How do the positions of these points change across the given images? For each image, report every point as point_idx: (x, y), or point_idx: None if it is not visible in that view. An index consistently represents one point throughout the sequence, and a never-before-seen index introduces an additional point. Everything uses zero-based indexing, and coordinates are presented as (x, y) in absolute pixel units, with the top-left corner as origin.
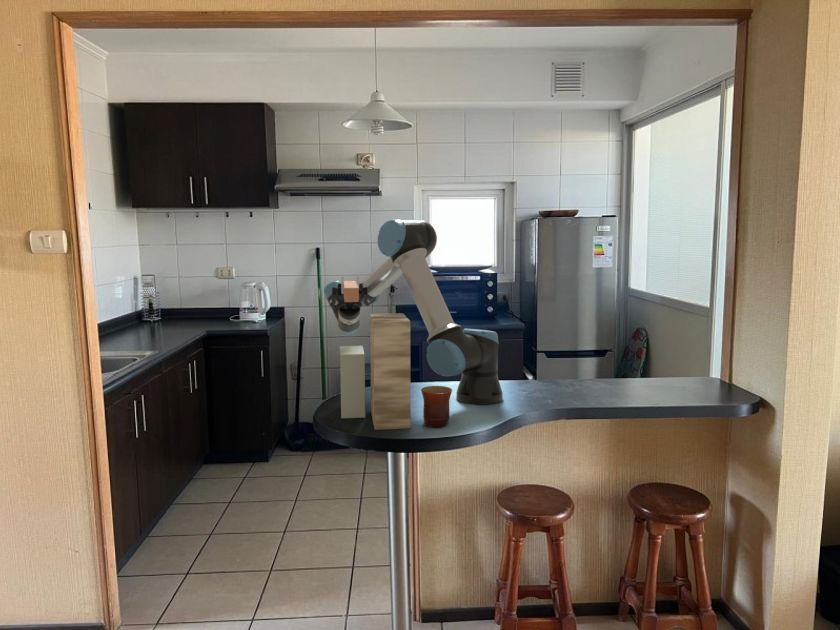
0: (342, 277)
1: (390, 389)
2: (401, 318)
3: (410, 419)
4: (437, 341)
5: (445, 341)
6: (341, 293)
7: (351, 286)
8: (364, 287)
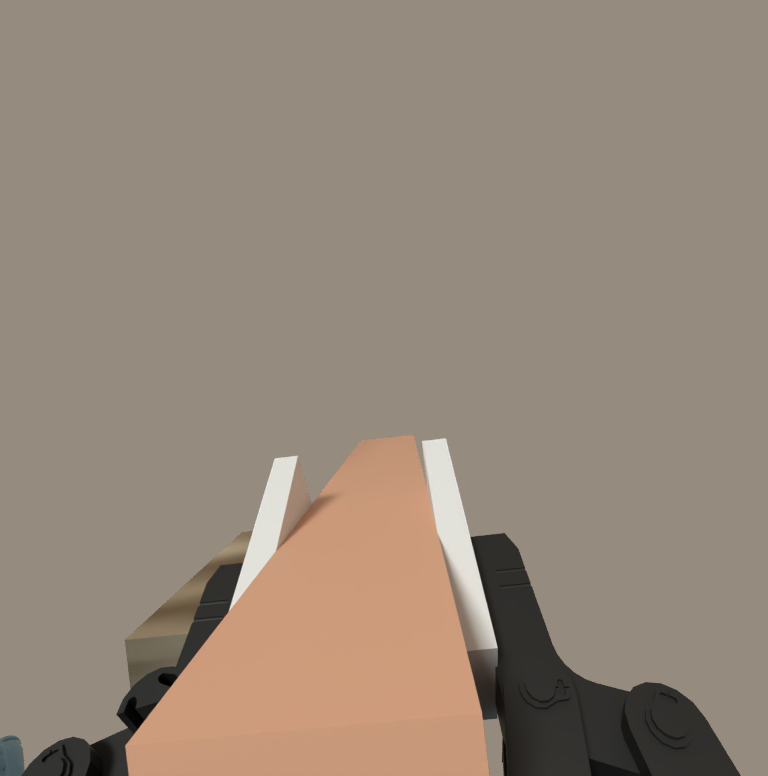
0: (434, 444)
1: None
2: (234, 556)
3: None
4: (22, 752)
5: (2, 740)
6: (495, 716)
7: (382, 447)
8: (86, 746)
